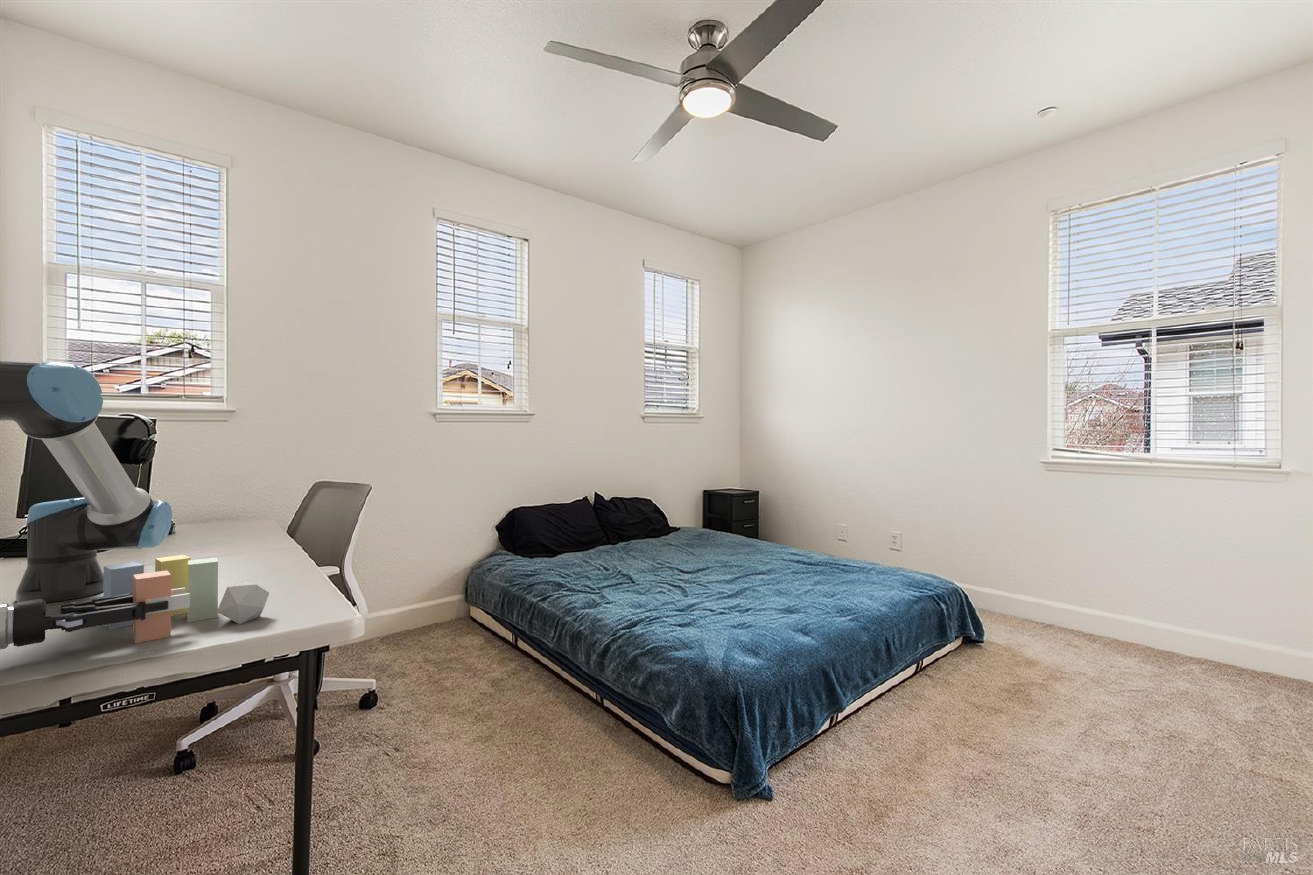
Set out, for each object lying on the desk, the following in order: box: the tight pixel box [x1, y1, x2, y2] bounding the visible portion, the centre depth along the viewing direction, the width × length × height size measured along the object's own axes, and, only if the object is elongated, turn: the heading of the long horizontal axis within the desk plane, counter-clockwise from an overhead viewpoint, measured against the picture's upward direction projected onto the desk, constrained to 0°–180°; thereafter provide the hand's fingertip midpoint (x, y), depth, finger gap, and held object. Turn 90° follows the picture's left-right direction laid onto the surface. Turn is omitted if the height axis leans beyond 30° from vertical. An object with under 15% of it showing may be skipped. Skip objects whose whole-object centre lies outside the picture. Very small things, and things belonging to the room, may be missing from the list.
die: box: [217, 580, 270, 625], centre depth 120 cm, size 8×9×10 cm
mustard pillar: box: [154, 554, 192, 617], centre depth 124 cm, size 5×5×12 cm
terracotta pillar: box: [132, 570, 172, 644], centre depth 110 cm, size 5×5×12 cm
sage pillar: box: [186, 557, 219, 623], centre depth 122 cm, size 5×5×12 cm
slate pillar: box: [103, 561, 145, 630], centre depth 117 cm, size 5×5×12 cm
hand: (186, 597), depth 114 cm, fingers closed on terracotta pillar, 5 cm apart
